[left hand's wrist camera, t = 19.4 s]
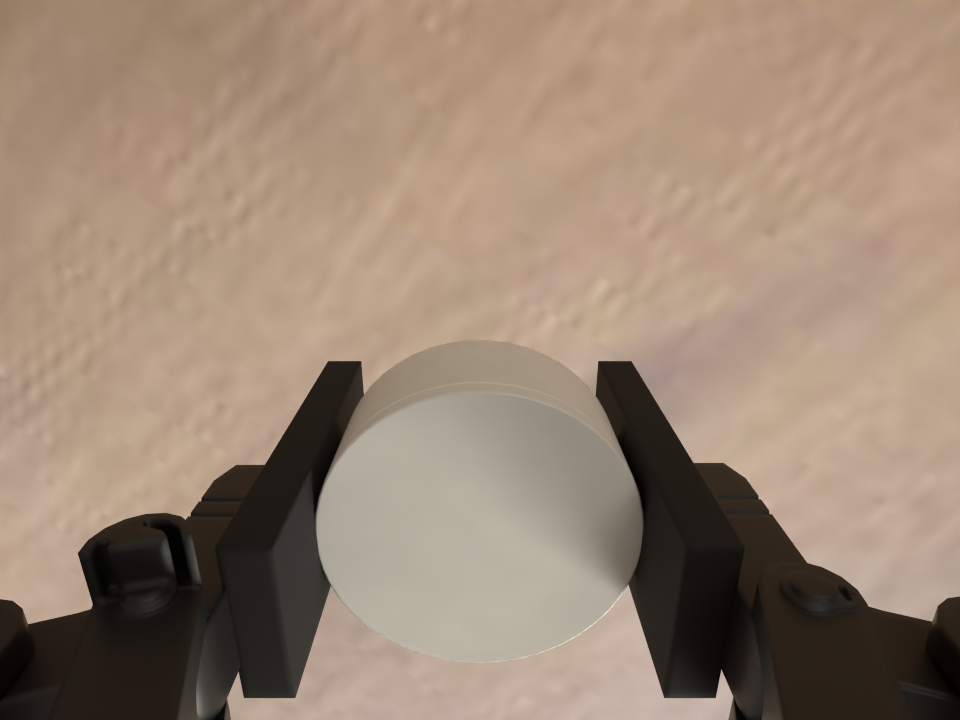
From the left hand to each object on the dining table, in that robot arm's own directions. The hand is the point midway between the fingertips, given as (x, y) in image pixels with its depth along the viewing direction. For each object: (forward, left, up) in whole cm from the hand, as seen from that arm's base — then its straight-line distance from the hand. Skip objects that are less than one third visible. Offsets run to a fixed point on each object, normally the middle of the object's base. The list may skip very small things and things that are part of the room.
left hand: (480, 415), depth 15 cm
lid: (0, 0, +4) cm, 4 cm away
